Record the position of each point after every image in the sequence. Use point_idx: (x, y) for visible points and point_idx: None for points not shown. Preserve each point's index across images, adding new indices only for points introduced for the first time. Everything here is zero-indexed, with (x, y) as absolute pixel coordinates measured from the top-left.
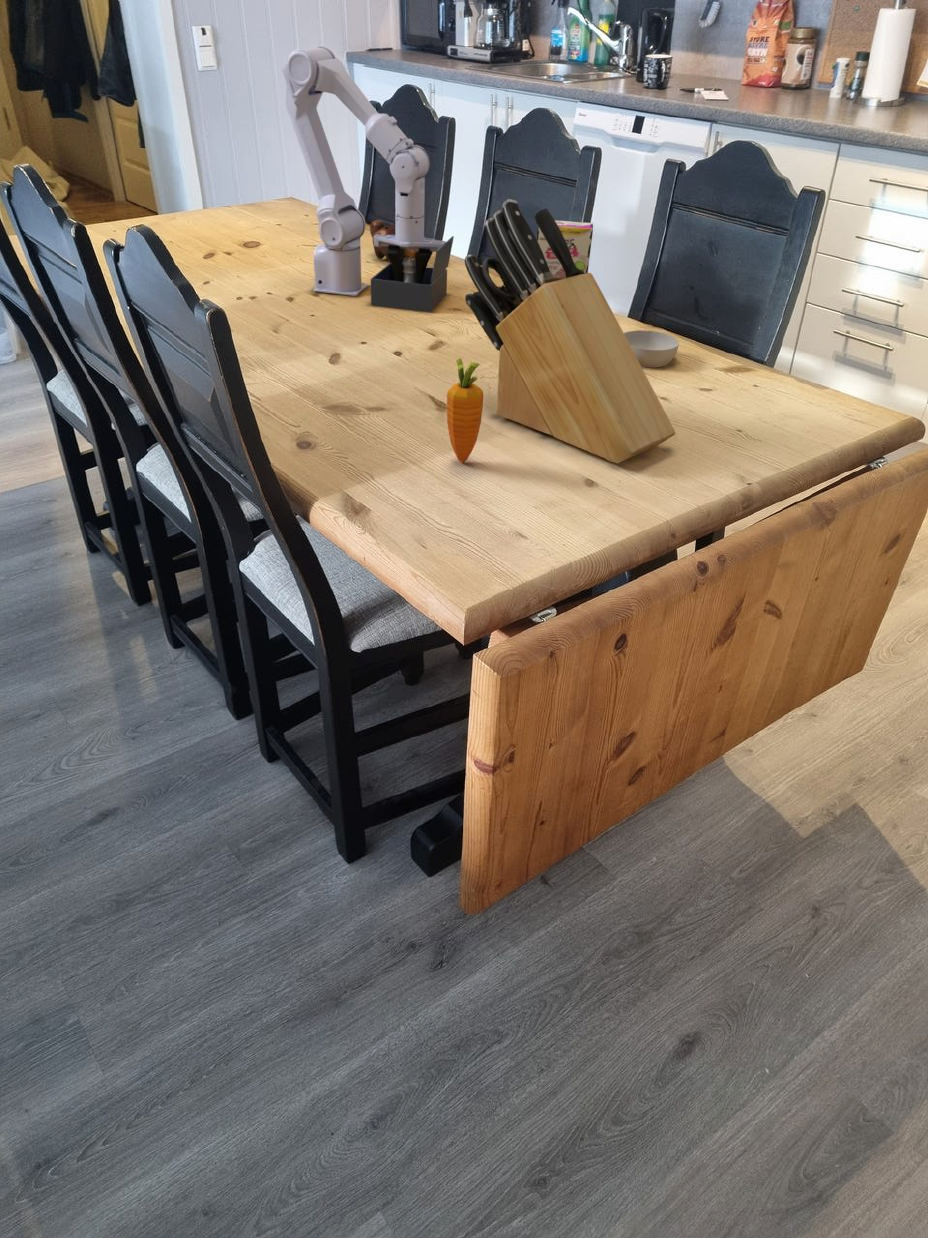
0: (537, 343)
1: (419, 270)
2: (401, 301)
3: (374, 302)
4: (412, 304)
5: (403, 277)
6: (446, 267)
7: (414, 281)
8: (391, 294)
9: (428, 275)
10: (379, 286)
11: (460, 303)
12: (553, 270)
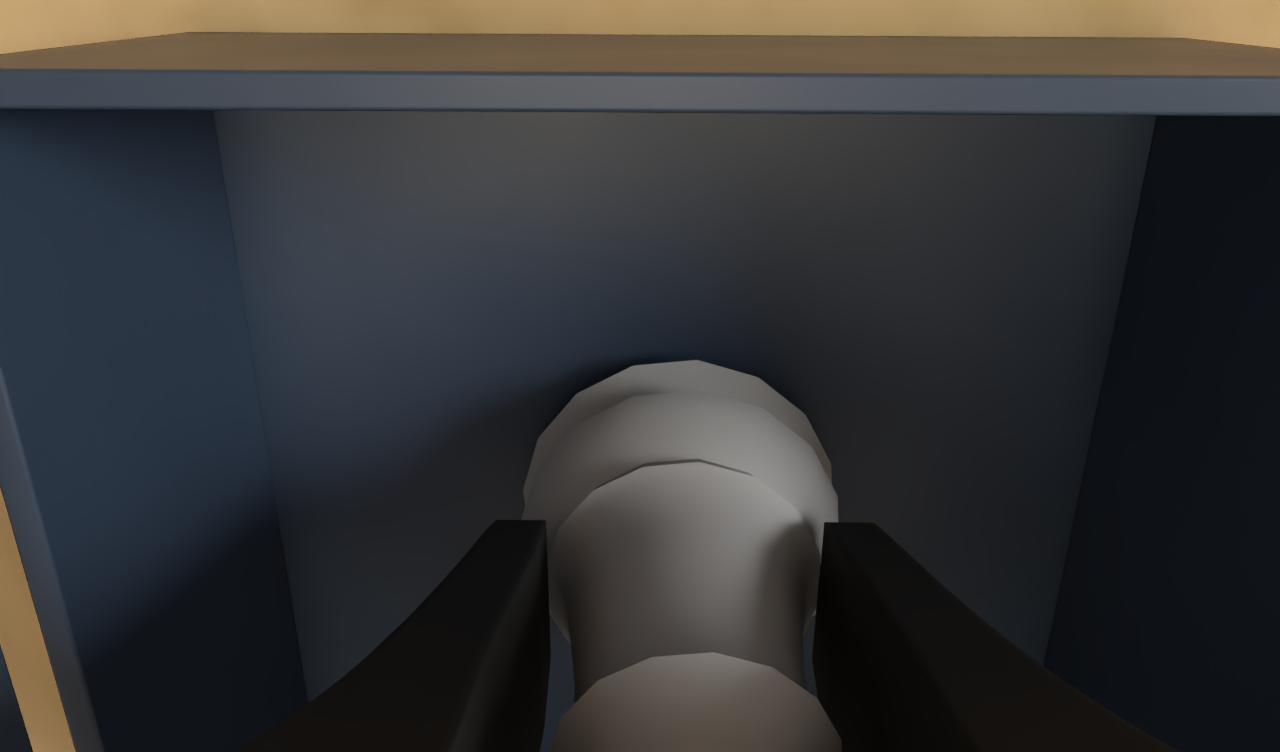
0: None
1: (389, 682)
2: (675, 40)
3: (1151, 41)
4: (474, 38)
5: None
6: None
7: (579, 603)
8: (887, 49)
9: None
10: (1207, 63)
11: (14, 565)
12: None
